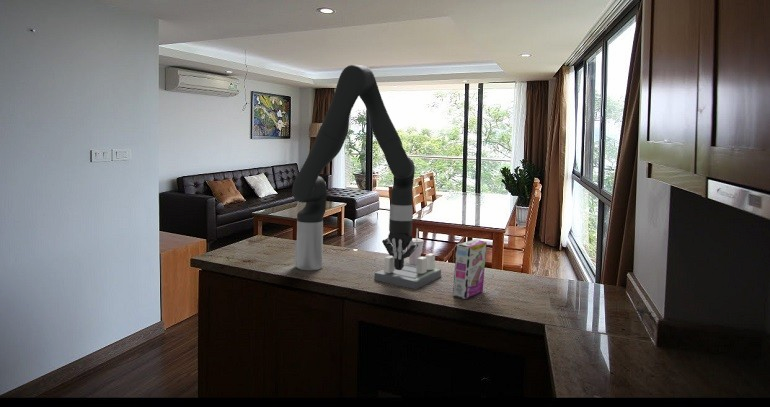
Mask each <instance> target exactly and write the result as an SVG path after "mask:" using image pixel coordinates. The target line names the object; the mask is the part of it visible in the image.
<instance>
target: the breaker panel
mask: <svg viewBox="0 0 770 407" xmlns="http://www.w3.org/2000/svg"><path fill="white" fill-rule="evenodd" d="M435 265H436V253H430V252H429V253H427V254H425V256H421V257H419V258H417V265H414V264H409V262H408V263H407V262H404V267H403V268H402V269H401V270H396V269H395V271H393V272H391V273H386V272H384V268H383V269H380V270H378V271H376V272H374V279H373V280H374V281H378V282H383V283H386V284H391V285H395V286H400V287H404V288H409V289H413V290H418V289H419V288H422V287H423V286H425V285H427V284H429V283H431V282H433V281H435V280H437V279H438V278H440V277H442V269H439V268H435Z"/></svg>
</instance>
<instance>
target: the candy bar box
mask: <svg viewBox="0 0 770 407" xmlns="http://www.w3.org/2000/svg"><path fill="white" fill-rule="evenodd" d="M487 243H488V242H487V241H483V240H478V239H471V240H468V241H465V242H459V243H457V244H456V245H455V258H454V260H455V261H454V273H453V287H452V296H453V297H455V298H459V299H462V300H467V299H470V298H471V297H474V296H476V295H478V294H481V293H483V291H484V281H485V265H486V257H487V256H486V255H487Z"/></svg>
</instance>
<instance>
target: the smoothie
mask: <svg viewBox="0 0 770 407" xmlns="http://www.w3.org/2000/svg"><path fill="white" fill-rule="evenodd" d="M418 237H419V228H416V235H415V238H413V237H412V241H413V242H414V243H415V244H418V247H417V248H416V249H415V251H414V252H413V253H412V254H411V255H410V256H409V257H408V260H409V261H408V263H409V264H414V265H417V258H419V257H422V256H421V255H422V251H423V244H424V242H425V241H424V239H421V238H418ZM409 245H410V244H409ZM409 245H408V247H407V250H408V249H409Z"/></svg>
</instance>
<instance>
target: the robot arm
mask: <svg viewBox="0 0 770 407" xmlns="http://www.w3.org/2000/svg"><path fill="white" fill-rule="evenodd" d="M358 98H360V99H361V101H362V103H363V104H364V106H365V108H366V110H367V113H368V118H369V121H370V126H371V131H372V133H373V136H374V137H375V139H376V142H377V143H378V146H379V148H380V149H381V151H382V153H383V155H384V157H385V161H386V163H387V165H388V168H389V171H390V172H391V174H392V175H393V181H392V182H393V183H392V184H393V185H392V188H391V195H390V207H389V218H388V220H389V222H388V231H389V233H388V235H387V238H385V239H383V240H382V242H381V243H382V244H383V246H384V247H385V249H386V251H387V253H388V256H393V257H394V267H395V269H396V270H401V269H402V268H403V267H404V263H405V259H407V258H409V256H410V255H411V254H412V253H413V252H414V251H415V249H416V248H417V247H418V244H415V243H414V242H413V241H412V238H413V236H412V232H413V219H414V216H413V214H414V213H413V210H414V209H413V198H414V197H413V195H414V194H413V188H414V187H413V186H414V179H415V170H416V169H415V162H414V161H413V159H412V158H410V157H409V156H408V154H407V153H406V151H405V149H404V146H403V142H402V139H401V137H400V136H399V134H398V131H397V129H396V127H395V125H394V124H393V121H392V120H391V117H390V115H389V114H388V111H387V108H386V106H385V103H384V100H383V98H382V95H381V93H380V90H379V86H378V83H377V80H376V77H375V74H374V72H373V71H372V69H370V68H369V67H368V66H366V65H362V64H361V65H360V64H350V65H348V66H346V67H344V69H342V71H341V73H340V74H339V77H338V81H337V84H336V87H335V90H334V94H333V96H332V100H331V102H330V105H329V107H328V108H327V111H326V114H325V116H324V118H323V121H322V123H321V125H320V127H319V129H318V132H317V134H316V136H315V138H314V139H315V140H314V142H313V144H312V147H311V148H310V151H309V152H308V154H307V158H306V159H305V162H304V163H303V165H302V166H301V168H300V170H299V172H298V174H297V176H296V177H295V180H294V181H293V185H292V189H291V190H292V191H291V192H292V197H293V198H294V200H295V201H296V202H298V203H305V205H304V207H303V208H302V209H301V210H300V211H298V212H297V214H296V240H295V241H294V267H295V268H296V269H298V270H300V271H317V270H321V269H322V268H323V254H324V253H323V247H324V246H323V245H324V244H323V243H324V242H323V241H324V240H323V239H324V215H325V214H326V208H327V183H326V182H325V180H324V178H323V177H322V176H320V174H321V173H322V171H323V170H324V169H325V167H327V166H328V165H329V163H331V162H332V161H333V160H334V159H335V158H336V157H337V155H339V153H340V152H341V150H342V147H343V146H344V144H345V141H346V139H347V136H348V134H349V126H350V116H351V112H352V110H353V107H354V105H355V104H356V102H357V100H358ZM409 244H410V245H409ZM408 245H409V249H408Z"/></svg>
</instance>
